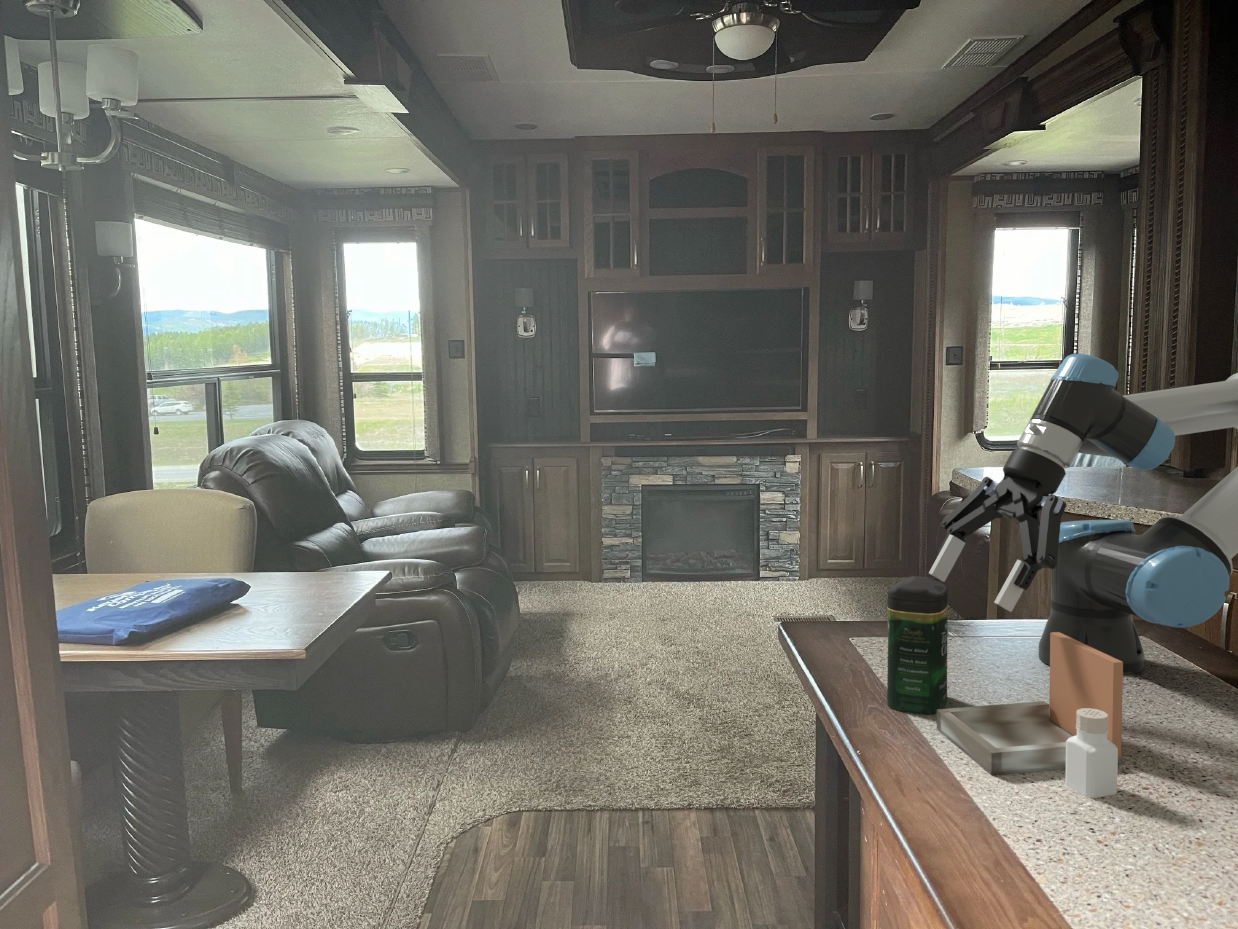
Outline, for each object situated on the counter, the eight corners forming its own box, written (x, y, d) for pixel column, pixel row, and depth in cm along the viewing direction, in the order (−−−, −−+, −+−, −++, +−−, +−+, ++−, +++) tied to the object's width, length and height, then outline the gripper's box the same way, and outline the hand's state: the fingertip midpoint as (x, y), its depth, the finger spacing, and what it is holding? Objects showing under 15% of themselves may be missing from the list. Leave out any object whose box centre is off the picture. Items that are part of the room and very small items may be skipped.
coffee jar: (940, 723, 124) (940, 589, 122) (881, 714, 128) (880, 584, 126) (953, 700, 132) (953, 574, 130) (897, 692, 136) (896, 570, 134)
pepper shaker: (1089, 805, 99) (1091, 722, 99) (1062, 790, 103) (1064, 709, 102) (1119, 800, 101) (1121, 717, 100) (1091, 784, 104) (1093, 704, 103)
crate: (1043, 726, 121) (1044, 701, 121) (1111, 771, 108) (1112, 742, 107) (936, 735, 120) (936, 709, 119) (991, 782, 106) (991, 753, 106)
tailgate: (1057, 725, 121) (1058, 631, 120) (1122, 767, 108) (1125, 662, 107) (1047, 726, 121) (1048, 632, 120) (1111, 768, 108) (1113, 663, 107)
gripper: (962, 433, 137) (895, 556, 137) (1096, 461, 114) (1015, 610, 114) (995, 456, 140) (929, 576, 140) (1132, 488, 117) (1053, 632, 117)
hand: (967, 592), depth 127 cm, fingers open, 13 cm apart
